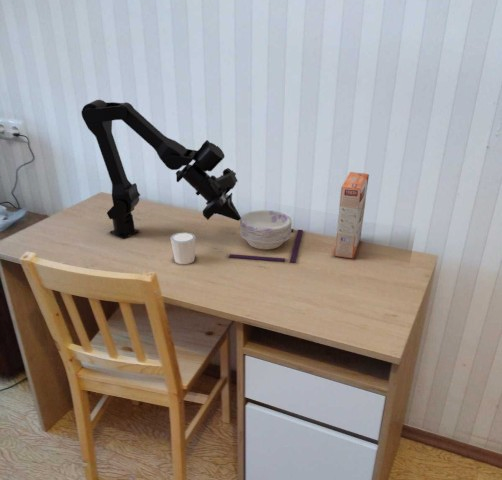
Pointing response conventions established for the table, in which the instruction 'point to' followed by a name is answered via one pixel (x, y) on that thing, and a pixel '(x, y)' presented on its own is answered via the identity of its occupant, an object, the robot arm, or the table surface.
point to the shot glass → (183, 247)
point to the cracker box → (351, 214)
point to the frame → (292, 260)
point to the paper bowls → (265, 228)
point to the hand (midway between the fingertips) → (239, 219)
